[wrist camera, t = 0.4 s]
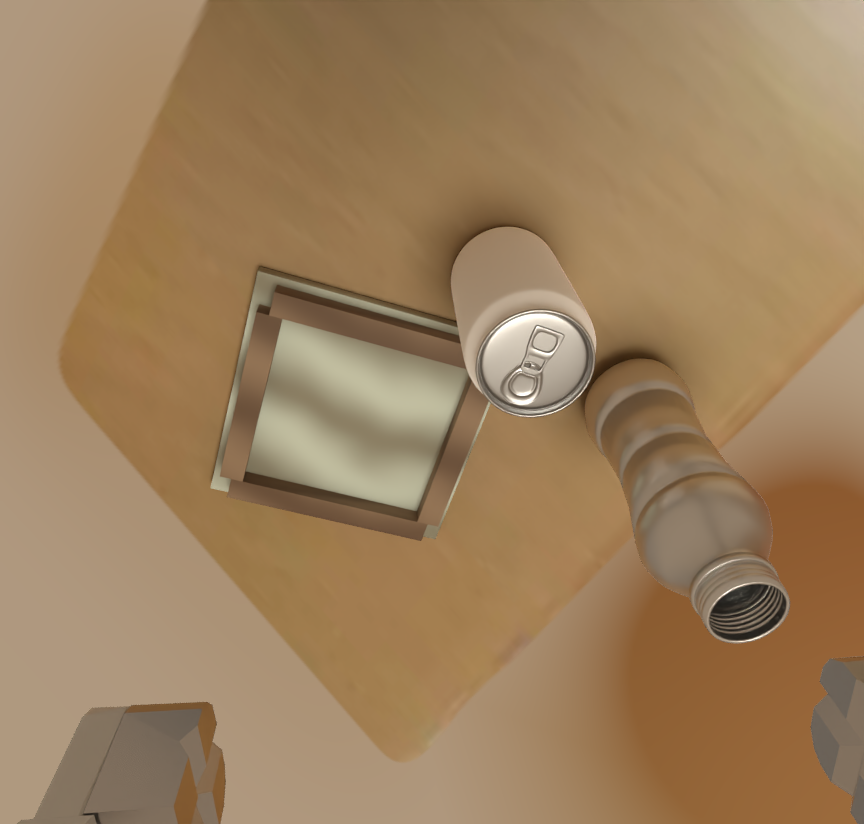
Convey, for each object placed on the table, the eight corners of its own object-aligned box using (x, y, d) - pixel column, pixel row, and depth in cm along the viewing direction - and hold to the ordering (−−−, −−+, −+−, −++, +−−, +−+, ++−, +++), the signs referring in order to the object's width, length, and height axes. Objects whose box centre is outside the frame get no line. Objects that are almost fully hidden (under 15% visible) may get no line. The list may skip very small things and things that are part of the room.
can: (433, 306, 47) (445, 402, 36) (475, 207, 44) (500, 280, 33) (529, 340, 48) (566, 441, 38) (575, 246, 45) (630, 327, 35)
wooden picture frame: (260, 266, 45) (254, 277, 43) (513, 338, 48) (517, 351, 46) (213, 481, 52) (206, 498, 50) (434, 532, 55) (436, 550, 53)
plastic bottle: (697, 382, 50) (858, 598, 33) (624, 452, 52) (736, 687, 35) (629, 327, 48) (761, 527, 30) (555, 402, 50) (639, 627, 33)
